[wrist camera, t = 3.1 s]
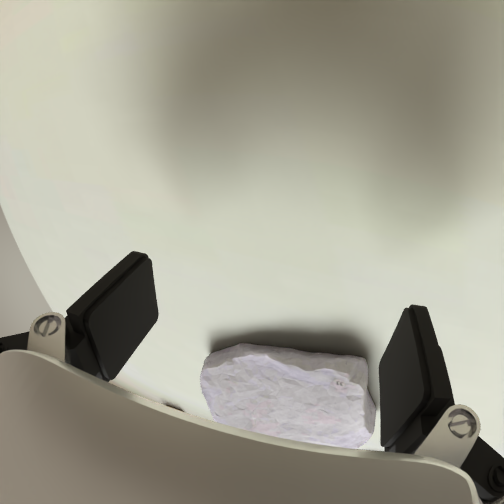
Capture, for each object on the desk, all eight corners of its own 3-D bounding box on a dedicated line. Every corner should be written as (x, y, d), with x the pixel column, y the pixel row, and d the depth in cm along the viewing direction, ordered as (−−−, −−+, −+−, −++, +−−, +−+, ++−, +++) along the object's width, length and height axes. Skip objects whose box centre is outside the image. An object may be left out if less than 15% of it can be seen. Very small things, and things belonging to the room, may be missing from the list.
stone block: (208, 329, 23) (244, 421, 25) (178, 362, 19) (224, 458, 21) (366, 309, 19) (377, 415, 21) (368, 349, 14) (375, 459, 16)
